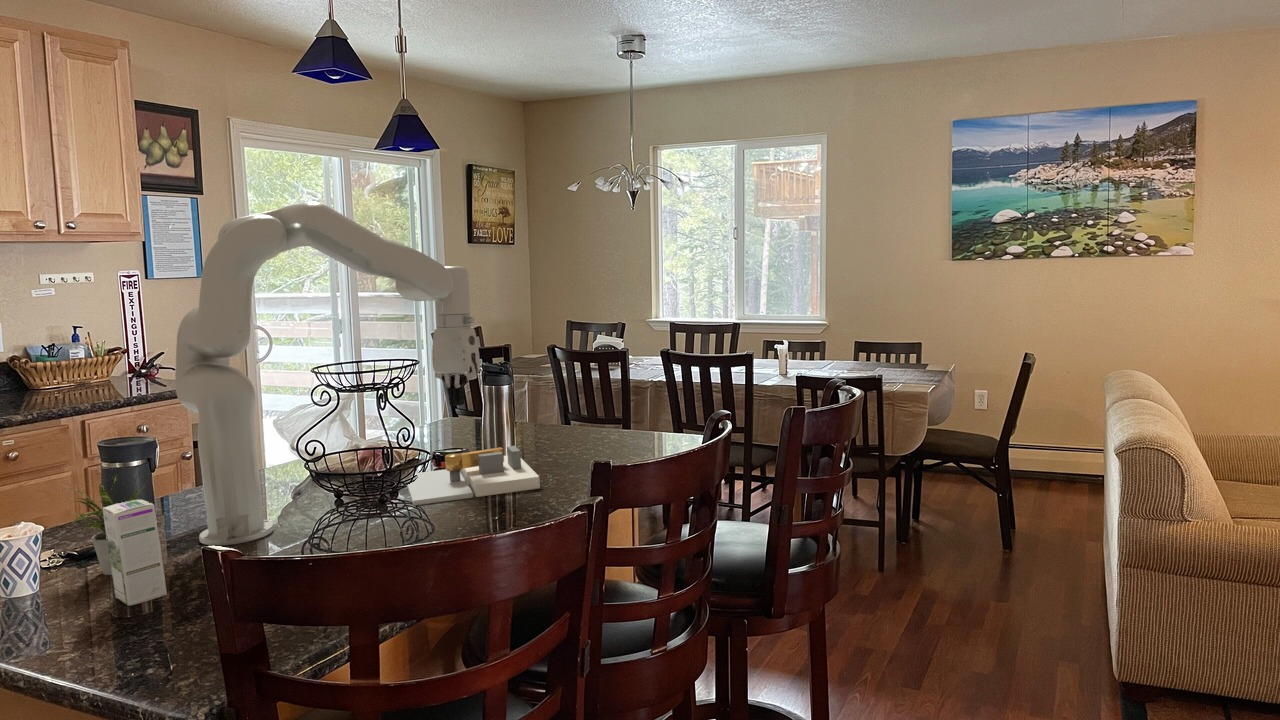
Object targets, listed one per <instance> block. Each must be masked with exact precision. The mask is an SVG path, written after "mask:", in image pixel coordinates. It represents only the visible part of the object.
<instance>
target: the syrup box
mask: <svg viewBox="0 0 1280 720" xmlns="http://www.w3.org/2000/svg"><path fill="white" fill-rule="evenodd" d="M149 502H150V501H147V500H144V499H141V498H138V499H137V498H136V499H135V500H131V501H129V500H125V502H121V503H117V502H116V503H115V504H114V505H111V506H107V507H104V506H103V507H102V509H103V516H102V517H103V519H104V523H105V530H106V537H107V544H108V550H109V558H110V565H111V572H112V575H111V577H112V584H113V591H114V597H115V599H116V600H119V601H120V602H121V603H123V604H124V605H126V606H135V605H137V604H141V603H146V602H148V601H151V600H155V599H158V598H160V597H161V598H162V597H164V596H167V594H168V593H167V585H166V578H165V570H164V562H163V556H162V548H161V541H160V534H159V529H158V523H157V515H156V513H157V512H156V508H155V507H156V506H155V504H154V503H152V502H150V503H149ZM104 523H103V524H104Z"/></svg>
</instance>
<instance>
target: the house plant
mask: <svg viewBox="0 0 1280 720" xmlns="http://www.w3.org/2000/svg"><path fill="white" fill-rule="evenodd" d="M116 477H118V473H117V474H116V476H115V478H114V482H113V484H112V487H113V485H114V484H115V481H116V482H117V478H116ZM146 483H148V481H145V483H144V484H143V485H144V486H143V487H142V488H141V487H140V488H141V489H140V488H139V489H138V490H136V492H134V493H133V494H132V495H131V496H130V498H129V500H128V501H131V500H136V499H137V498H136V497H137V496H138V494H139V493H140V491H142V489H144V488H145V487H148V486H149V485H146ZM102 487H103V494H102ZM63 489H64V490H69V488H63ZM112 489H113V488H111V491H112ZM70 490H73V491H77V492H76V493H75V492H74V494H77V495H78V494H79V495H83V496H85V498H87V499H85V498H81V497H77V499H78V500H75V501H73V503H77V502H79V503H81V504H83V505H85V506H86V507H88V508H89V509H90V510H91V511H87V512H84V513H80V514H79V513H74V512H73V513H72V512H71V513H66V514H68V515H70V514H71V515H75V516H79V518H76V519H74V520H73V521H72V522H71V523H70V525H72V524H74V523H77V522H79V523H80V522H81V521H82V522H84V521H85V522H88V523H87V524H85V525H84V527H83V530H82V532H84V531H85V530H86V529H88V528H90V527H92V526H93V532H95V530H97V529H98V530H101V532H98V533H95V534H93V536H92V537H91V542H92V544H93V547H94V550H95V553H96V556H97V561H98V563H99V565H100V568H101V571H102V573H103V575H105V576H112V572H111V565H110V558H109V550H108V544H107V539H106V530H105V523H104V516H103V508H101V507H100V506H99V505H97V503H96V502H95V501H94V500H93V499H92V498H91V497H89V495H87V494H86V493H84V492H83V491H81V490H78V489H75V488H70ZM99 495H100V498H101V500H100V503H101V505H103V501H104V506H103V507H107V506H111V505H114V502H113V501H112V500H111V495H110V497H109V495H108V493H107V492H106V490H105V489H104V486H103V485H102V482H100V483H99ZM66 499H69V497H67V498H64V500H66ZM79 499H80V500H79ZM70 503H72V501H71V502H70ZM95 508H96V509H95ZM91 515H93V516H97V517H98V518H99V520H98V519H96V518H94V517H90V516H91ZM90 519H91V520H90ZM93 520H94V521H93ZM95 521H96V522H95Z"/></svg>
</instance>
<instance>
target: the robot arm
mask: <svg viewBox="0 0 1280 720" xmlns="http://www.w3.org/2000/svg"><path fill="white" fill-rule="evenodd" d="M301 247H302V248H303V247H311V248H313V249H315V250H317V251H318V252H319V253H322V254H324V255H326V256H328V257H329V258H331V259H333V260H334V261H335V260H336V261H337V262H339V263H341V264H343V265H344V266H346V267H348V268H350V269H351V270H353V271H356V272H360V273H362V274H366V275H369V276H375V277H376V276H378V277H382V278H387V279H391V280H393V281H394V282H395V283H394V285H395V289H396V291H397V293H398V294H399V296H401V297H402V298H404V299H406V300H407V301H412V302H414V301H415V302H426V301H427V302H432V301H433V302H434V310H435V311H434V313H435V329H434V331H433V337H432V350H431V352H432V353H431V355H432V356H431V360H432V361H431V362H432V370H433V371H434V372H435V373H434V377H435V378H436V379H439V380H442V381H443V382H444V384H445V386H446V388H448V400H449V406H450V407H455V406H456V407H457V406H458V407H459V406H462V405H464V404H465V387H466V386H467V384H468V383H469V381H471V380H475V379H477V378H478V373H477V372H479V371H480V369H481V361H480V351H479V350H480V348H479V342H478V338H477V337H478V336H477V334H476V330H475V328H474V327H472V324H474V323H475V318H474V317H473V316H472V317H471V303H470V301H471V300H470V299H471V298H470V297H471V296H470V276H469V271H468V269H467V267H465V266H459V265H457V266H456V265H455V266H454V265H451V266H445V265H444V264H442V263H441V262H439V261H438V260H435V259H434V258H431V256H428V255H426V254H425V253H423V252H422V251H419V250H417V249H415V248H412V247H409V246H407V245H405V244H402V243H400V242H397V241H394V240H392V239H391V238H387V237H384V236H382V235H380V234H377V233H375V232H373V231H372V230H370V229H368V228H366V227H364V226H363V225H360V224H359V223H357V222H355V221H354V220H352V219H351V218H348V217H347V216H345V215H343V214H342V213H341V212H338V211H337V210H335V209H333V208H331V207H330V206H328V205H326V204H324V203H321V202H318V201H305V202H299V203H292V204H289V205H286V206H283V207H280V208H279V207H278V208H275V209H272V210H268V211H264V212H259V213H255V214H250V215H246V216H240V217H237V218H233V219H230V220H228V221H227V222H225V223H224V224H223V225H222V226H221V227H220V230H219V231H218V235H217V240H216V241H215V243H214V245H212V247H211V249H210V251H209V252H208V254H207V255H206V258H205V261H204V263H203V267H202V271H201V277H200V278H201V280H200V288H199V298H198V299H199V300H198V306H197V307H195V308H193V309H191V310H189V311H188V312H187V313H186V314H185V315H184V316H183V318H182V319H181V321H180V323H179V327H178V328H177V329H178V330H177V335H176V347H175V351H176V352H175V376H174V377H175V378H174V379H175V382H174V383H175V394H176V396H177V400H178V402H179V403H180V404H181V406H183V407H184V408H185V409H187V410H188V411H190V412H192V413H195V414H198V425H197V446H198V456H199V461H200V462H199V464H200V469H201V470H200V471H201V479H202V486H203V487H202V488H203V490H202V491H203V499H204V506H205V514H206V524H207V528H206V529H205V530H203V531H201V532H200V533H199V536H198V539H199V543H201V544H202V545H207V546H212V545H219V546H230V545H231V546H233V545H237V544H244V543H248V542H251V541H256V540H258V539H261V538H264V537H266V536H268V535H270V534H272V533H273V531H274V530H275V524H274V522H273V521H271V520H269V519H265V517H264V516H265V515H264V507H263V496H262V489H261V488H262V486H261V478H260V470H259V459H258V450H257V442H256V430H255V412H256V411H255V410H256V394H255V393H256V391H255V388H254V387H255V386H254V385H253V382H252V381H251V379H250V378H249V377H248V375H246V374H245V372H244V371H241V370H240V369H238V368H236V367H233V366H230V358H234V357H237V356H239V355H241V354H242V353H244V351H245V350H246V349H247V348H248V345H249V343H250V341H251V339H250V338H251V316H252V315H251V314H252V294H253V285H254V281H255V278H256V277H255V276H256V275H257V273H258V271H259V270H260V268H261V267H262V266H263V265H264V264H265V263H266V262H267V261H269V260H272V259H273V258H276V257H277V256H278V255H280V254H281V253H284V252H287V251H291V250H294V249H297V248H301Z"/></svg>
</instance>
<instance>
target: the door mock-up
mask: <svg viewBox="0 0 1280 720" xmlns="http://www.w3.org/2000/svg"><path fill="white" fill-rule="evenodd" d="M506 453H507V454H506V455H505V454H504V462H503V454H502V453H501V452H497V453H488V454H480V455H478V463H479V466H476V467H470V468H464V469H461V470H458V471H447V470H446V468H445V469H437V470H431V471H424V472H423V471H421V472H415V473H416V475H417V476H418V478H417V479H416V480H415V481H414V482H412V483H410V484H408V485H406V487H407V488H406V489H407V492H408V494H409V497H410V500H411V503H412V506H420V505H422V506H423V505H428V504H435V503H442V502H449V501H457V500H464V499H472V498H473V499H474V496H475V497H476V498H478V497H485V496H493V495H494V496H495V495H500V494H506V493H507V494H509V493H514V492H515V493H516V492H523V491H529V490H530V491H531V490H537V489H538V490H539V489H541V482H540V481H541V480H540V476H539V474H537V472H536V471H534V469H532V468H531V466H530V465H529V464H528V463H527V462H525V460H524V459H523V458H522V456H521V450H520V449H519V448H518V447H517V446H516V445H509V446H506Z"/></svg>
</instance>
